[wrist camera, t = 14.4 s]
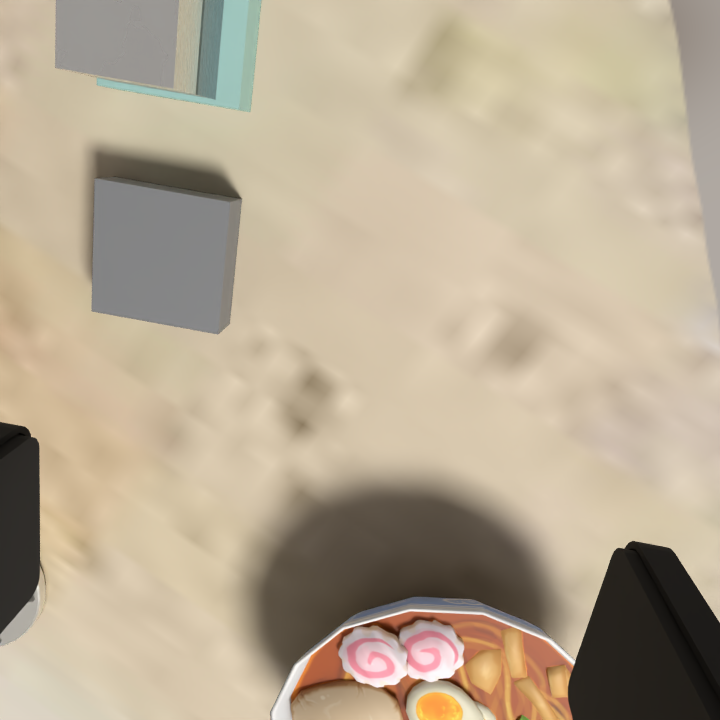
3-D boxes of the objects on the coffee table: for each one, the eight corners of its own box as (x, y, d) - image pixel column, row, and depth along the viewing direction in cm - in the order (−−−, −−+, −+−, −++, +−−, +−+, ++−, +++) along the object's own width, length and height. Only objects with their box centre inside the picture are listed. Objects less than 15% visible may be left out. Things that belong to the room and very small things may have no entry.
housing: (123, -65, 32) (56, -114, 26) (228, -47, 32) (185, -92, 26) (117, 82, 34) (55, 67, 29) (215, 99, 34) (173, 88, 28)
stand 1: (117, 89, 37) (96, 85, 35) (122, -68, 34) (100, -84, 32) (250, 112, 37) (238, 109, 34) (265, -44, 34) (254, -59, 32)
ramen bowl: (504, 474, 43) (524, 546, 35) (658, 705, 48) (705, 812, 40) (220, 624, 49) (183, 713, 41) (382, 814, 54) (376, 926, 46)
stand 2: (110, 302, 41) (91, 311, 39) (114, 176, 39) (94, 178, 36) (229, 323, 41) (218, 334, 39) (241, 199, 38) (230, 202, 36)
